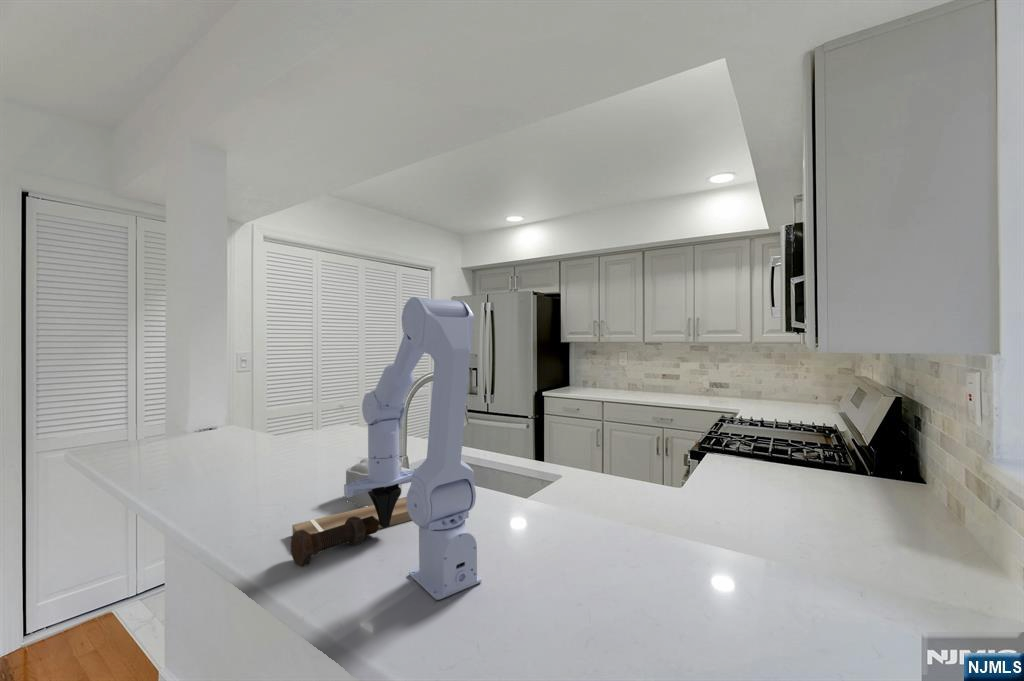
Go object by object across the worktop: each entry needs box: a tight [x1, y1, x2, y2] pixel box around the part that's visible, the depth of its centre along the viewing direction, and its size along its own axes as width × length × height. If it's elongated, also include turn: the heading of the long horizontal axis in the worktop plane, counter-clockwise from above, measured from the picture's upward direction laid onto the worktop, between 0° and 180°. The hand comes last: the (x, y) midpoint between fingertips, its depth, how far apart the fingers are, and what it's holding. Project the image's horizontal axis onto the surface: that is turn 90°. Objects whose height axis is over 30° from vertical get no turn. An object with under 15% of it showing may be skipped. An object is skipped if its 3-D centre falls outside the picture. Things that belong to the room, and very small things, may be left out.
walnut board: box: [291, 496, 412, 535], centre depth 89 cm, size 8×24×2 cm, turn 129°
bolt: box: [290, 516, 380, 567], centre depth 79 cm, size 6×5×15 cm
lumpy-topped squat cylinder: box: [345, 457, 403, 507], centre depth 106 cm, size 10×13×9 cm
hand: (384, 525), depth 84 cm, fingers closed
